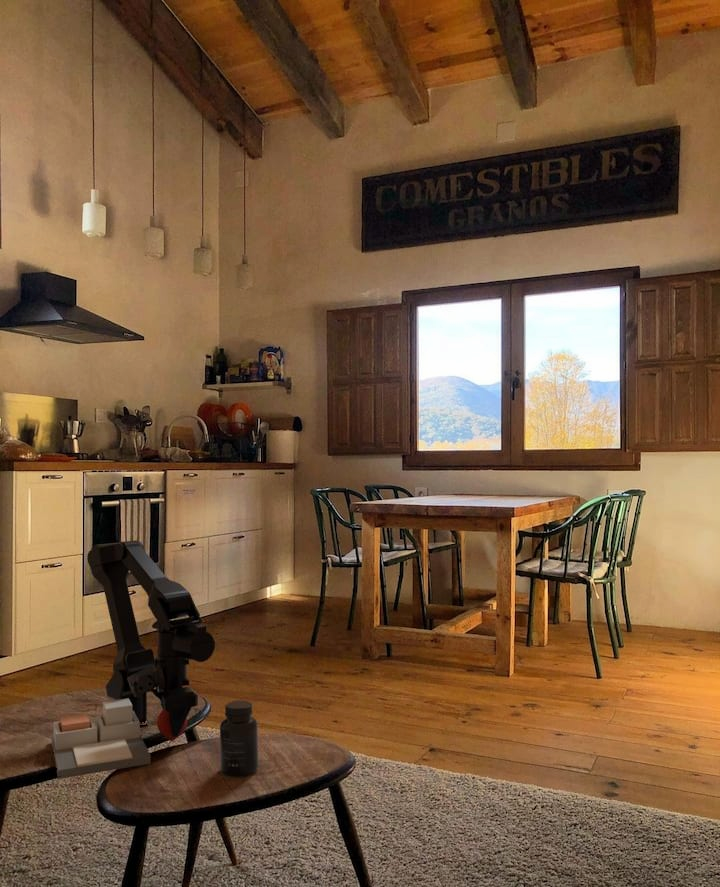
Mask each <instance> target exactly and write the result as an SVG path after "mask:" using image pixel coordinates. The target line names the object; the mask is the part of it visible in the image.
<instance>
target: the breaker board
mask: <svg viewBox="0 0 720 887" xmlns="http://www.w3.org/2000/svg"><path fill="white" fill-rule="evenodd" d="M88 717H89V720H90V728H86V729H79V730H72V731H65V732H60V720H58V721H57V720H56V721H53V725H52V726H53V727H52V728H53V734H51V737H50V738H51V742H52V743H51V742H50V743H51V747H53V749H52V752H54V754H53V758H54V757H55V759H54V763H55V762H56V765H55V768H57V770H56V775H57V779H58V780H59V779H60V780H61V779H65V778H72V777H77V776H84V775H90V774H96V773H101V772H103V773H104V772H107V771H115V770H120V769H121V770H122V769H126V768H132V767H138V766H144V765H150V764H151V757H152V756H151V753H150V751H149V750H148V748H147V746H146V744H145V742H144V740H143V738H142V735H141V734H140V733H141V732H140V731H141V726H140V722H139V720H138V718H137V716H136V714H135V712H134V711H132V722H128V723H121V724H114V725H107V726H105V725H104V723H103V714H101V715H96V716H95V719H94V716H88ZM129 763H130V764H129ZM59 776H60V777H59Z"/></svg>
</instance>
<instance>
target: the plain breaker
mask: <svg viewBox="0 0 720 887" xmlns="http://www.w3.org/2000/svg"><path fill="white" fill-rule="evenodd" d="M102 715H103V723H104V725H105V726H107V725H114V724H121V723H128V722H132V704H131V702H130V700H129V698H126V699H119V700H114V699H112V700H111V699H110V700H105V701H102Z"/></svg>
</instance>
